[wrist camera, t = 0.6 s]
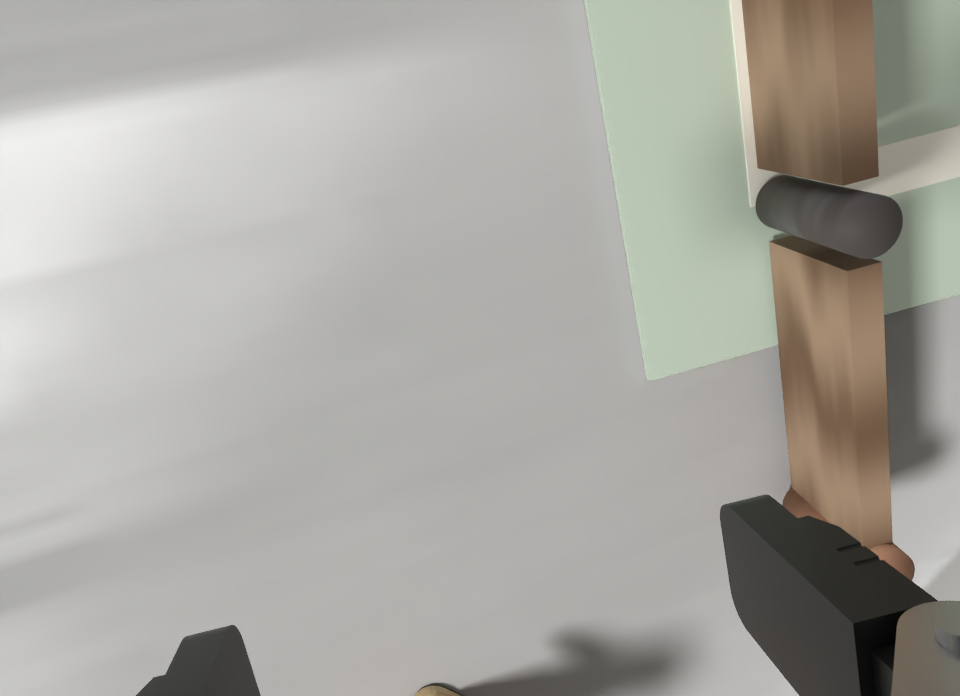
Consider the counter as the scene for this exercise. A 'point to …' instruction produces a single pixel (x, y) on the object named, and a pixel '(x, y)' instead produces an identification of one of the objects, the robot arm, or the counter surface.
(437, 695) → the grandmother figurine
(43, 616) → the counter surface
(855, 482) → the hinged fence panel
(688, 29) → the card
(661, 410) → the counter surface
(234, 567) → the counter surface
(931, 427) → the counter surface
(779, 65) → the fixed fence section
